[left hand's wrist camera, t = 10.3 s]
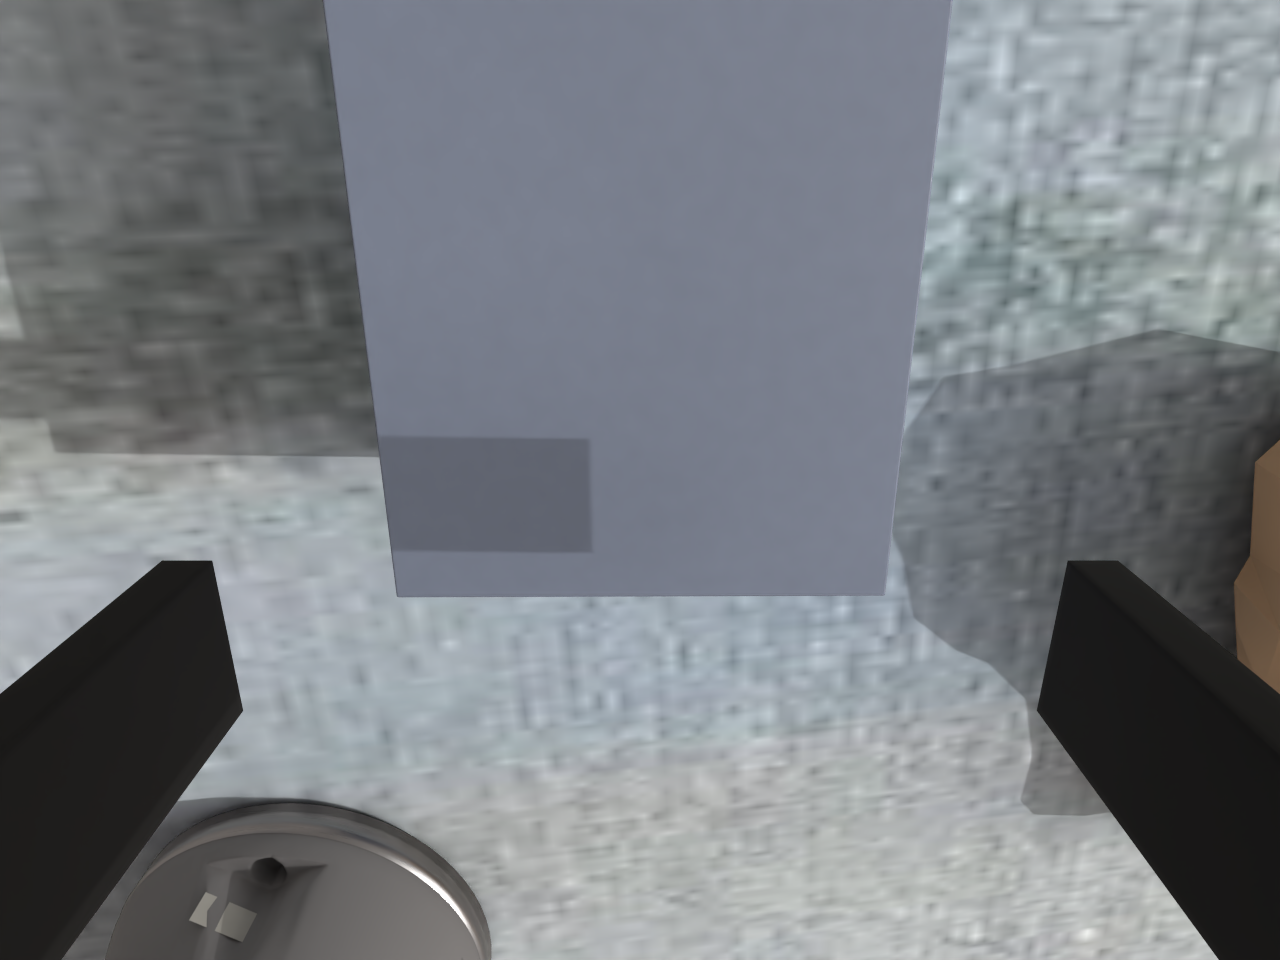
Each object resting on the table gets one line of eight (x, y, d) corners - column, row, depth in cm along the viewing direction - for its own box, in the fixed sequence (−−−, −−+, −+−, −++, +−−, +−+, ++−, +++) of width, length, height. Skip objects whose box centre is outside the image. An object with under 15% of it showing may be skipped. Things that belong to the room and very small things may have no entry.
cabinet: (428, -132, 22) (279, -340, 13) (848, -134, 22) (993, -345, 13) (475, 459, 28) (396, 598, 19) (806, 457, 28) (885, 596, 19)
